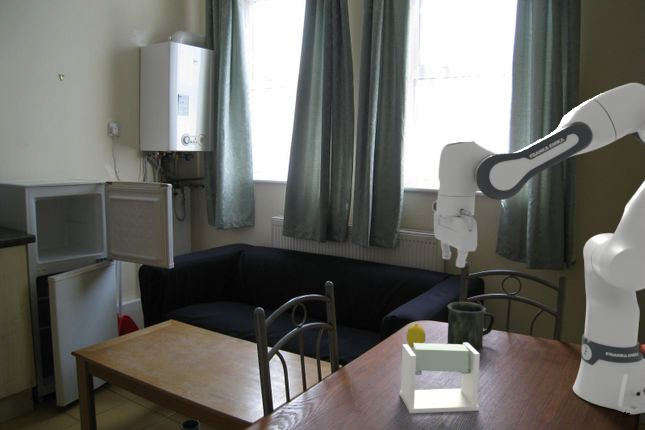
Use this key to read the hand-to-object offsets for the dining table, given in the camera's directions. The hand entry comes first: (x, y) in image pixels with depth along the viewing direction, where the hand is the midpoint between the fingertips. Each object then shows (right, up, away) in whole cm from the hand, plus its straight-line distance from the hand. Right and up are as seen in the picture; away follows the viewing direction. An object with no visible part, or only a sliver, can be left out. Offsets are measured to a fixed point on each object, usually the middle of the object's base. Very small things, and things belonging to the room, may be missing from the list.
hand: (453, 262), depth 127 cm
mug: (+13, -28, +30) cm, 43 cm away
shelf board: (-5, -24, -8) cm, 25 cm away
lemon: (-5, -29, +25) cm, 38 cm away
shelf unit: (-5, -32, -7) cm, 33 cm away
